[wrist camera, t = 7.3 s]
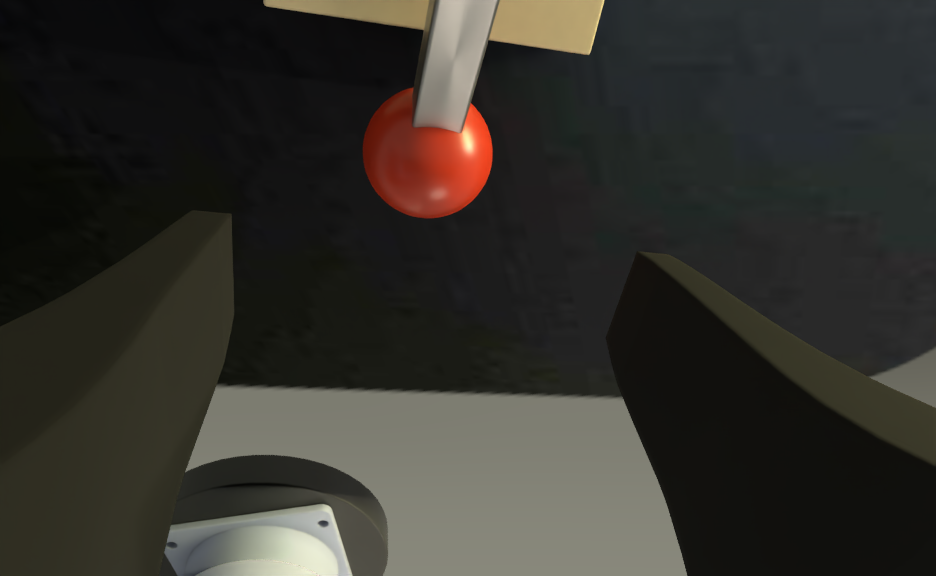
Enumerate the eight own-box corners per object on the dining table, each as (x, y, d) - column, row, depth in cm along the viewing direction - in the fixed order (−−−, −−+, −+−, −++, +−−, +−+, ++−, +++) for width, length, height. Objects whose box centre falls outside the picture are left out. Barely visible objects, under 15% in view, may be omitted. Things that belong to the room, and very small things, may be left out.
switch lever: (475, 153, 18) (479, 247, 16) (362, 139, 17) (355, 236, 16) (658, -413, 8) (706, -309, 7) (422, -484, 8) (419, -386, 6)
